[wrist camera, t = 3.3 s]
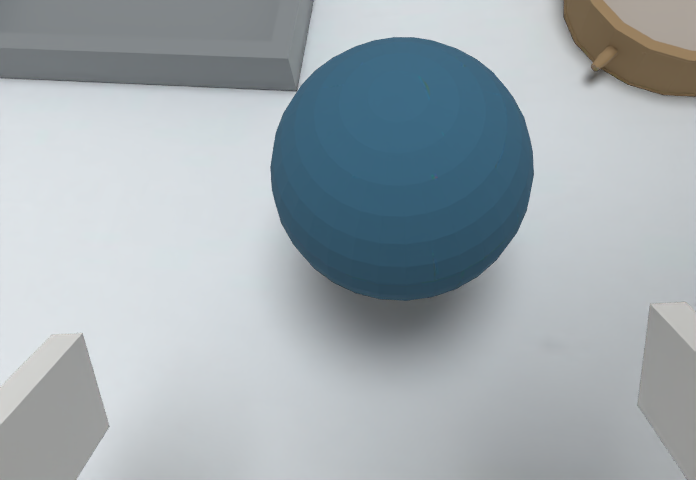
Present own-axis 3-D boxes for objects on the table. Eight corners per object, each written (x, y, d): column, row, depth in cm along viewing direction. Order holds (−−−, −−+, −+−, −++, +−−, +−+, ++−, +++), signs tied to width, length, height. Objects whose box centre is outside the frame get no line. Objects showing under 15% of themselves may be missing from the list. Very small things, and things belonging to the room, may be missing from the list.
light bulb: (279, 310, 26) (185, 182, 15) (348, 155, 28) (314, -52, 17) (462, 378, 24) (514, 291, 13) (517, 205, 27) (598, 10, 15)
